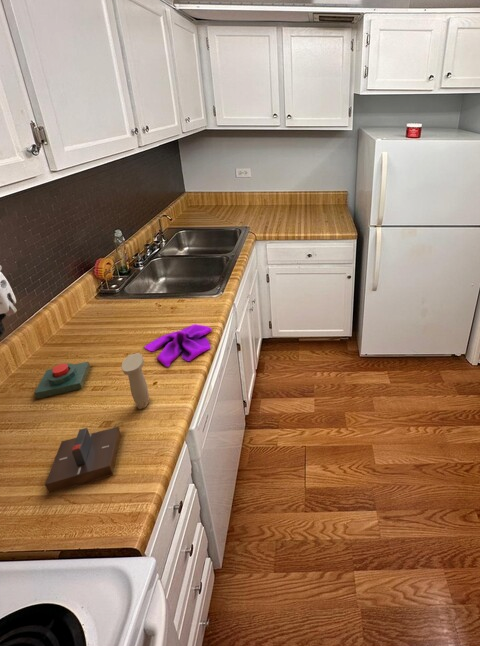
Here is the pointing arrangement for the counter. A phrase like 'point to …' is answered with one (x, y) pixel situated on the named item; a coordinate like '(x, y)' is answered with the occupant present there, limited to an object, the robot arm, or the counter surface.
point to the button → (60, 370)
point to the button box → (63, 381)
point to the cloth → (181, 344)
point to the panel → (95, 466)
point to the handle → (136, 379)
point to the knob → (81, 446)
